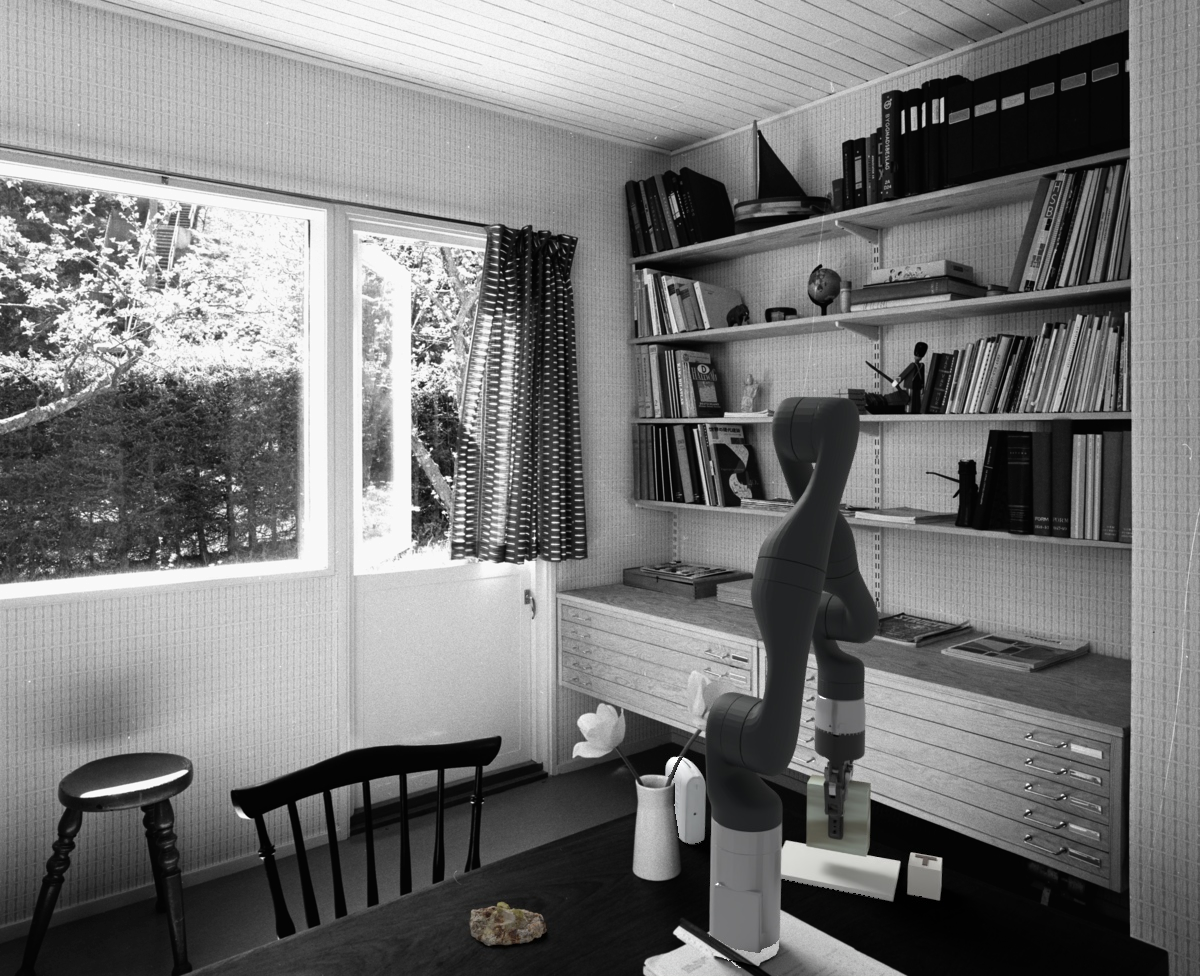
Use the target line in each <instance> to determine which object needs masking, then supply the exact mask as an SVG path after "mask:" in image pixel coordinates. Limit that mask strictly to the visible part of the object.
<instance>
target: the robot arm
mask: <svg viewBox="0 0 1200 976" xmlns="http://www.w3.org/2000/svg"><path fill="white" fill-rule="evenodd" d="M860 418H861V417H860V411H859V408H858V406H857V404H856V403H855V402H854V401H853V400H852V399H850V398H847V397H840V396H837V397H836V396H827V397H826V396H791V397H786V398H784V399H783V400H781V401H780V403H779V404H778V405H777V407H776V408H775V410H774V413H773V416H772V421H771V434H772V436H771V437H772V443H773V447H774V451H775V453H776V457H777V460H778V463H779V466H780V468H781V472H782V474H783V477H784V480H785V483H786V486H787V489H788V491H789V494H790V497H791V500H792V503H793V507H792V508H790V510H789V511H787V513H786V514H785V515H784V516H783V517H782V518H781V520H780V521H779V522H777V524H776V525H775V526H774V527H773V528H772V530H771V531H770V532H769V533H768V535H767V536H766V537H765V539H764V541H763V542H762V544H761V546H760V549H759V551H758V555H757V559H756V564H755V568H754V573H753V578H752V582H751V587H750V588H751V589H750V601H751V606H752V609H753V615H754V617H755V620H756V624H757V626H758V630H759V633H760V636H761V638H762V643H763V646H764V649H765V654H766V678H765V686H764V692H763V697H762V698H760V697H756V696H753V695H749V694H744V693H740V692H736V691H733V692H732V691H729V692H725V693H722V694H721V695H719V696H718V697H717V698H716V699H715V700H714V702H713V704H712V705H711V706H710V708H709V709H710V710H709V712H708V715H707V718H706V723H705V732H704V733H705V735H704V748H705V749H704V751H705V772H706V773H705V775H706V777H705V778H706V794H707V797H708V800H709V802H710V806H711V814H710V815H711V822H710V823H711V829H710V830H711V832H710V834H711V835H710V873H709V874H710V876H709V877H710V879H709V880H710V881H709V882H710V884H709V885H710V886H709V935H710V934H711V935H712V936H713V937H714V938H716V939H718V940H720V941H721V942H723V943H724V944H726V945H728V946H730V947H731V948H734V949H735V950H737V949H738V950H744V951H748V952H755V953H760V952H761V950H762V949H764V948H767V947H770V946H772V945H773V944H776V942H777V941H778V940H779V938H780V939H781V898H782V897H781V895H782V894H781V892H782V890H781V889H782V879H781V854H782V848H783V846H782V843H783V802H782V800H781V797H780V796H779V794H778V793H777V792H776V791H775V790H773V788H771V786H769V785H768V784H767V783H766V782H764V780H763V779H762V778H761V777H760V776H759V774H760V775H762V776H768V777H777V776H780V775H781V774H783V773H784V772H785V771H786V770H787V768H788V767H789V765H790V764H791V761H792V760H793V757H794V754H795V751H796V748H797V744H798V739H799V734H800V728H801V720H802V718H801V717H802V708H803V701H804V700H803V699H804V693H805V684H806V676H807V668H808V662H809V655H810V650H811V644H812V648H813V651H814V655H815V656H814V657H815V661H816V666H817V680H816V681H817V686H816V687H817V689H816V690H817V692H816V701H815V710H814V751H815V753H816V754H817V755H819V756H820V757H823V758H825V759H827V760H828V761H827V763H826V766H824V771H823V776H824V778H825V781H824V783H823V786H824V800H825V810H824V811H825V815H828V836H829V838H832V839H837V840H841V839H842V838H843V827H844V814H845V811H844V808H845V801H846V800H847V799H848V789H849V782H852V780H853V776H854V773H855V772H854V771H855V769H854V768H855V767H854V761H857V760H860V759H862V758H863V757H864V755H865V754H866V719H867V718H866V712H867V711H866V703H865V678H866V677H865V676H866V675H865V674H866V670H865V664H864V663H865V662H863V660H861V659H860V658H859V657H856V656H854V655H852V654H850V653H847V652H845V651H844V650H842V649H841V648H840V646H839V645H838V643H837V641H838V642H846V643H851V644H852V643H853V644H867V643H869V642H870V641H872V639H873V638H874V637H875V636H876V635H877V632H878V630H879V624H880V620H879V619H880V618H879V612H878V611H879V610H878V608H877V605H876V603H875V601H874V598H873V596H872V593H871V592H870V590H869V588H868V586H867V585H866V582H865V580H864V578H863V576H862V573H861V571H860V567H859V561H858V553H857V548H856V547H857V546H856V541H855V536H854V533H853V531H852V528H851V526H850V524H849V522H848V520H847V519H846V517H845V516H844V514H843V513H842V512H841V510H840V507H841V506H840V505H841V502H842V498H843V495H844V491H845V488H846V485H847V482H848V479H849V474H850V472H851V469H852V464H853V461H854V459H855V456H856V455H855V454H856V451H857V447H858V442H859V437H860V430H861V429H860V427H861V421H860V420H861V419H860ZM813 464H814V465H813ZM844 788H845V789H844ZM843 790H844V794H843V795H842V791H843ZM832 804H835V805H837V806H838V807H833V806H831V805H832Z"/></svg>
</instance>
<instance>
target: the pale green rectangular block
mask: <svg viewBox="0 0 1200 976" xmlns="http://www.w3.org/2000/svg"><path fill="white" fill-rule="evenodd" d="M824 781H825V778H824V775H818V774H811V775H810V778H809V779H808V780H807V784H806V786H807V787H806V842H805V844H806V846H808V847H813V848H819V849H824V850H830V851H836V852H841V853H847V854H852V855H858V856H863V857H866V856H867V855H868V852H869V849H870V843H871V842H870V841H871V838H870V837H871V836H870V835H871V791H872V789H871V788H872V786H871V784H872V783H871V782H865V781H859V780H853V779H852V782H849V789H848V799H847V800H846V801H845V808H844V811H845V814H844V827H843V838H842V839H841V840H837V839H832V838H829V836H828V815H825V811H824V810H825V800H824V786H823V783H824ZM844 789H845V788H844ZM843 794H844V790H843V791H842V795H843ZM831 806H833V807H838V806H837V805H835V804H832V805H831Z"/></svg>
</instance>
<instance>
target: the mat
mask: <svg viewBox="0 0 1200 976" xmlns="http://www.w3.org/2000/svg"><path fill="white" fill-rule="evenodd" d="M900 869H901V861H900V860H895V859H890V858H884V857H877V856H873V855H868V854H867V856H866V857H863V856H858V855H852V854H847V853H841V852H836V851H830V850H824V849H819V848H813V847H808V846H806V843H802V842H797V841H791V840H785V841H784V844H783V846H782V854H781V880H782V879H785V880H784V881H787V880H789V881H788V882H792V881H795V882H794V883H797V882H798V884H802V883H803V885H807V884H808V886H812V885H813V887H817V886H818V887H819V888H822V887H824V888H825V889H827V888H829V890H832V889H834V890H835V891H837V890H839V891H838V892H843V891H844V893H848V892H849V893H848V894H853V893H856V894H855V895H858V894H861V895H860V896H863V895H865V896H864V897H868V896H870V897H869V898H873V897H874V898H873V899H878V898H879V899H878V900H883V901H884V900H885V901H889V902H894V898H895V893H896V889H897V884H898V879H899V873H900ZM824 888H823V889H824Z"/></svg>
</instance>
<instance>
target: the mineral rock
mask: <svg viewBox="0 0 1200 976" xmlns="http://www.w3.org/2000/svg"><path fill="white" fill-rule="evenodd" d="M546 926H547V923H546V922H545V918H544V917H543V915H542V914H541V913H539V912H532V911H530V910H527V909H520V908H518V909H517V908H515V907H513V908H512V909H511V907H510V906H509V904H507V903H506V902H504V901H500V902H497V904H496V906H493V905H491V906H489V907H485V908H483V907H480V908H479V909H472V910H471V911H470V918H469V929H470V935H471V937H472V938H474V939H476V940H477V941H478V942H482V943H483V944H484V945H485V946H489V947H490V946H493V945H495V946H497V945H501V946H509V945H513V944H514V945H515V944H523V943H526V944H528V943H530V942H532V941H534V939H535V938H536V939H539V938H541V937H542V935H543V934H545V933H546V932H547V930H548V929H547V928H546Z"/></svg>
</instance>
